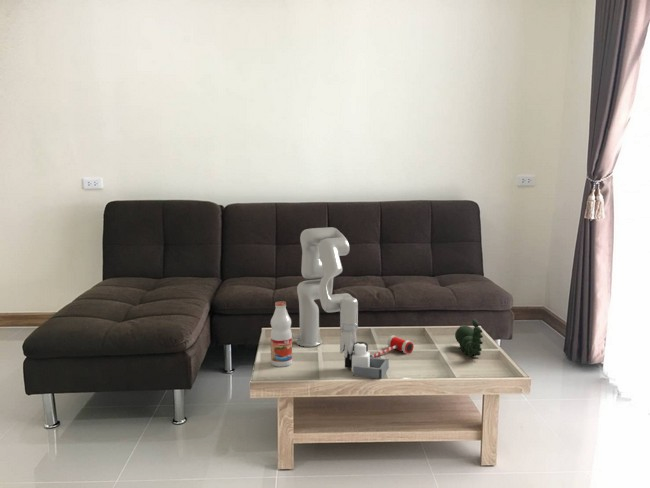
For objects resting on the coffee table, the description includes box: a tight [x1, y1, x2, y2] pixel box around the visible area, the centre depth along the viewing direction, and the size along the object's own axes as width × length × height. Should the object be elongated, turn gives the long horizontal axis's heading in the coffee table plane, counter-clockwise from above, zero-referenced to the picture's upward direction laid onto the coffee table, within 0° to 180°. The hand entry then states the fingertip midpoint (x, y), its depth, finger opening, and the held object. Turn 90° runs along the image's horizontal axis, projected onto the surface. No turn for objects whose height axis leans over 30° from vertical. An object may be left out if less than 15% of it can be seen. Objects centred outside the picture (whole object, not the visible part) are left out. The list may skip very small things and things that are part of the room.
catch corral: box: [352, 357, 390, 380], centre depth 250 cm, size 12×13×4 cm
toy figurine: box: [454, 318, 484, 357], centre depth 275 cm, size 9×19×25 cm
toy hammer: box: [370, 335, 415, 358], centre depth 273 cm, size 23×12×6 cm, turn 128°
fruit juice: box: [270, 300, 293, 368], centre depth 260 cm, size 9×9×28 cm
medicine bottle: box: [351, 341, 371, 373], centre depth 252 cm, size 7×7×12 cm
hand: (348, 367), depth 254 cm, fingers closed
